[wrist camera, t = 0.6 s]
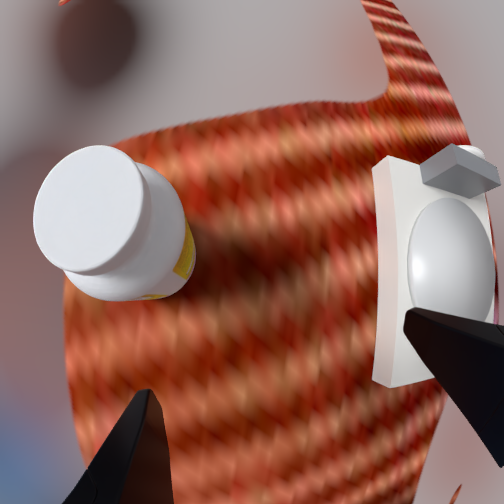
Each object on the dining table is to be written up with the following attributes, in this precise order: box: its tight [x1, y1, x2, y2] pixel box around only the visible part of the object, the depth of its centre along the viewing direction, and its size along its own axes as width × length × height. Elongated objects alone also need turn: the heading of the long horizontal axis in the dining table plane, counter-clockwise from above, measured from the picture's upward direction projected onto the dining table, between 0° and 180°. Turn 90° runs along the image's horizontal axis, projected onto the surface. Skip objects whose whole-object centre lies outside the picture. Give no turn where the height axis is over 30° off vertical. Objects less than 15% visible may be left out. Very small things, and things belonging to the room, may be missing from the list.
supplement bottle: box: [33, 145, 196, 301], centre depth 14 cm, size 7×7×13 cm
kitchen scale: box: [372, 144, 501, 388], centre depth 20 cm, size 21×16×8 cm
